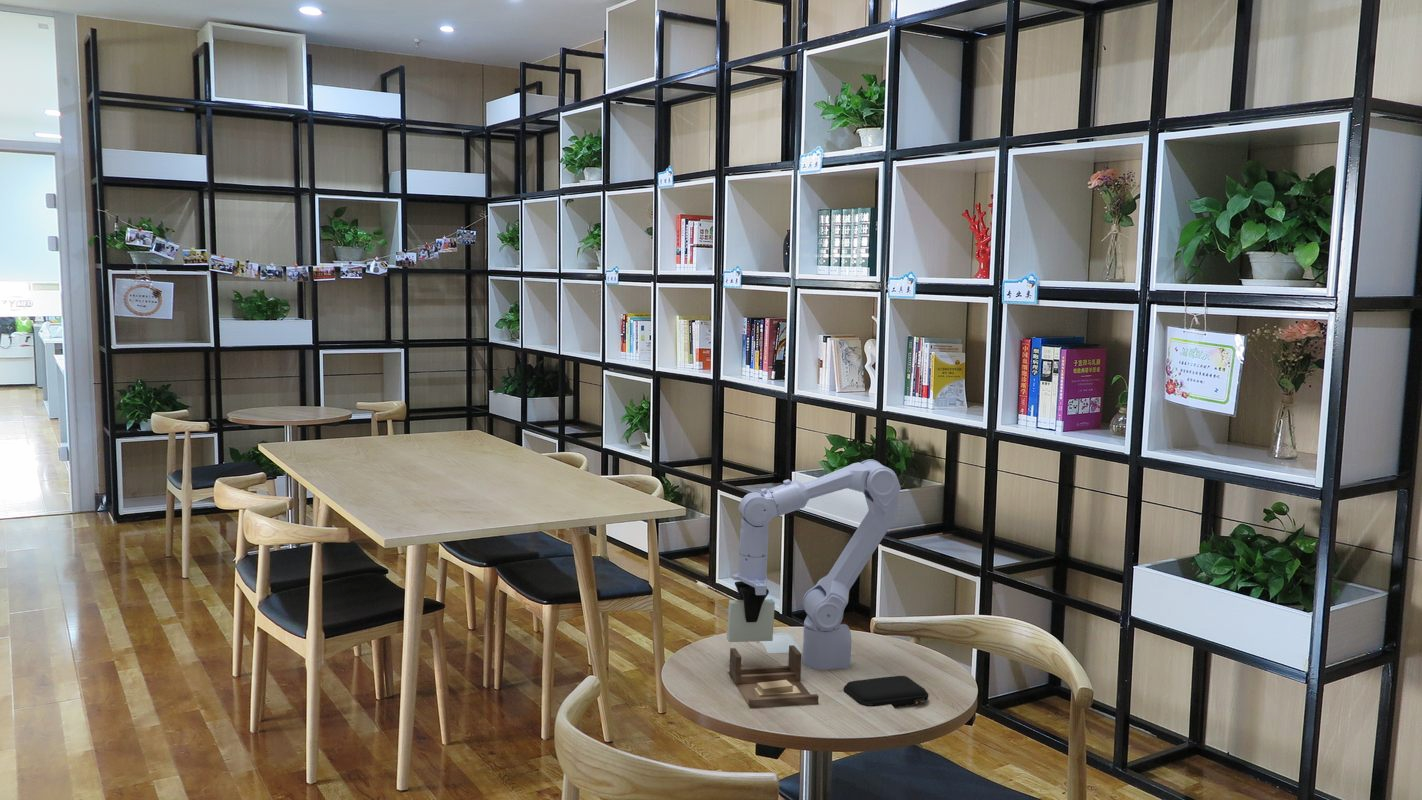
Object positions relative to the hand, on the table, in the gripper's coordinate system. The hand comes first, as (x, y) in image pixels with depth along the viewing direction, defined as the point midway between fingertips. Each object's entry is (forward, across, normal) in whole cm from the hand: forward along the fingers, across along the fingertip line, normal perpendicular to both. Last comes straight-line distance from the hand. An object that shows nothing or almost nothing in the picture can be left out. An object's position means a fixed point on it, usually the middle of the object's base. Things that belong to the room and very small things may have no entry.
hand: (749, 619), depth 215 cm
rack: (+10, +12, +2) cm, 16 cm away
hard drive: (+11, -12, +10) cm, 19 cm away
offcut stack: (+9, +16, +2) cm, 19 cm away
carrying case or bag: (+11, +18, +23) cm, 31 cm away
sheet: (+4, 0, 0) cm, 4 cm away
